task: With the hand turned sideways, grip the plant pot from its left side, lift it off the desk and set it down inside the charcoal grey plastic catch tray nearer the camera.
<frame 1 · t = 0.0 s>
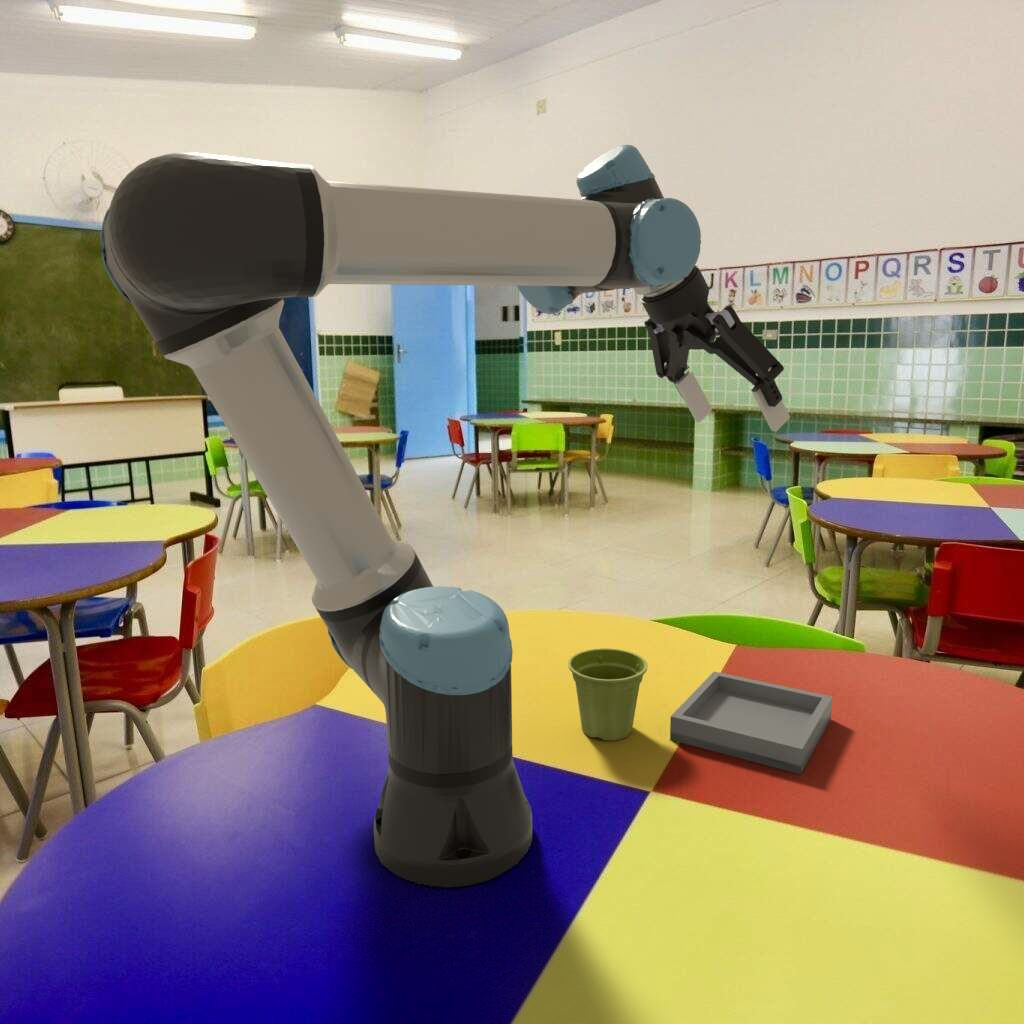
hand: (740, 419, 104), 36 cm above the table, tool tilted 35°, fingers open, 13 cm apart
catch tray: (752, 729, 98), on the table
plant pot: (607, 731, 98), on the table
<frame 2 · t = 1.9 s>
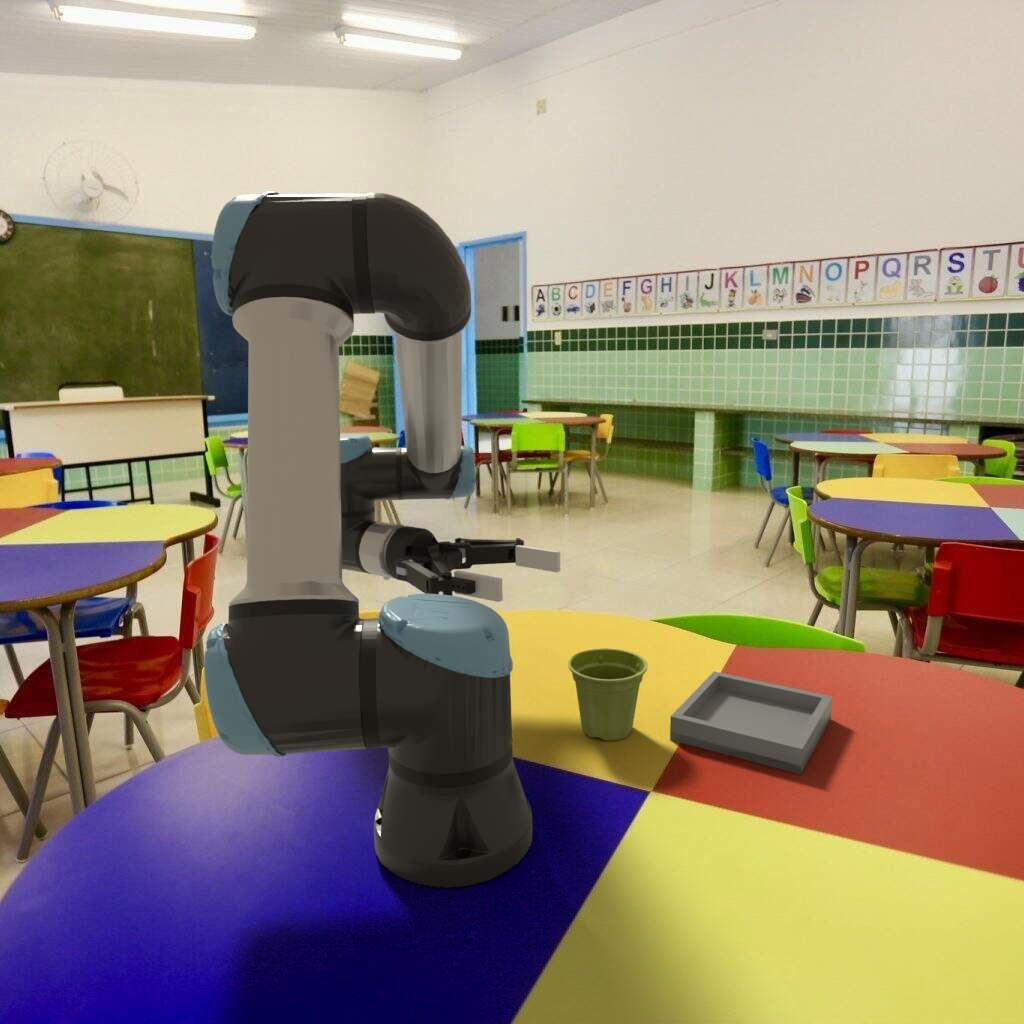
hand: (531, 575, 100), 18 cm above the table, tool horizontal, fingers open, 13 cm apart
nothing on the table moved.
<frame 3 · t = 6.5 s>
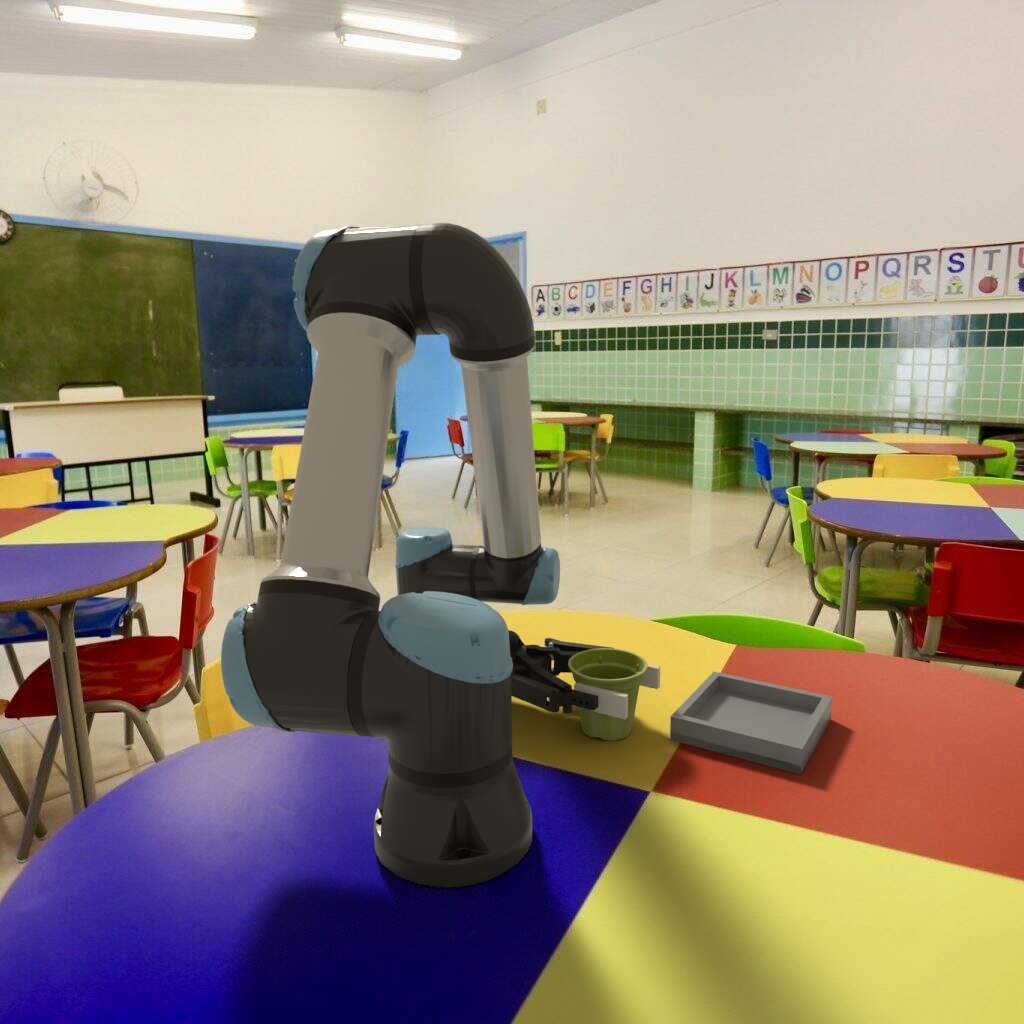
hand: (643, 691, 94), 6 cm above the table, tool horizontal, fingers closed on plant pot, 8 cm apart
plant pot: (607, 731, 98), on the table, touching gripper
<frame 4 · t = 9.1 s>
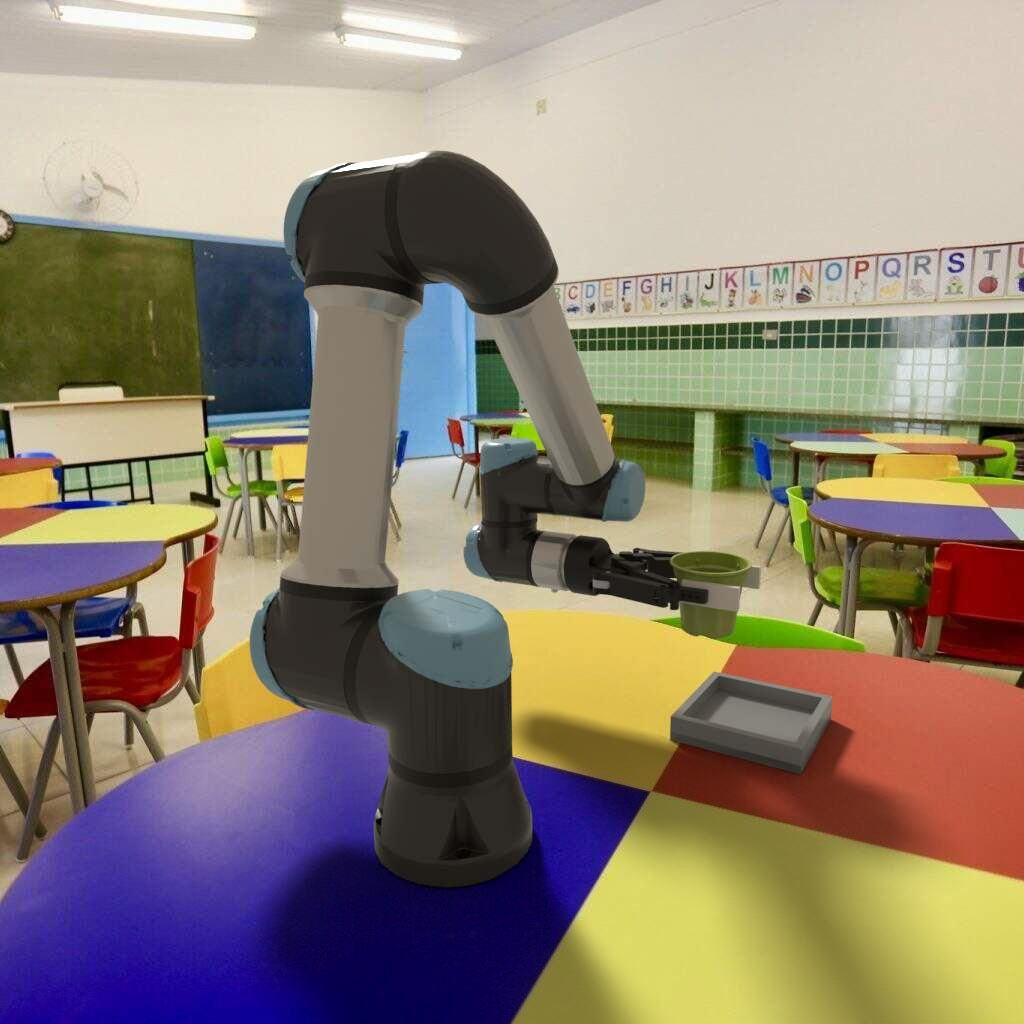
hand: (749, 588, 93), 18 cm above the table, tool horizontal, fingers closed on plant pot, 8 cm apart
plant pot: (707, 632, 97), point 12 cm above the table, touching gripper
when the fingers open (8 cm above the table, at t = 11.8 s): plant pot drops 1 cm, resting on catch tray.
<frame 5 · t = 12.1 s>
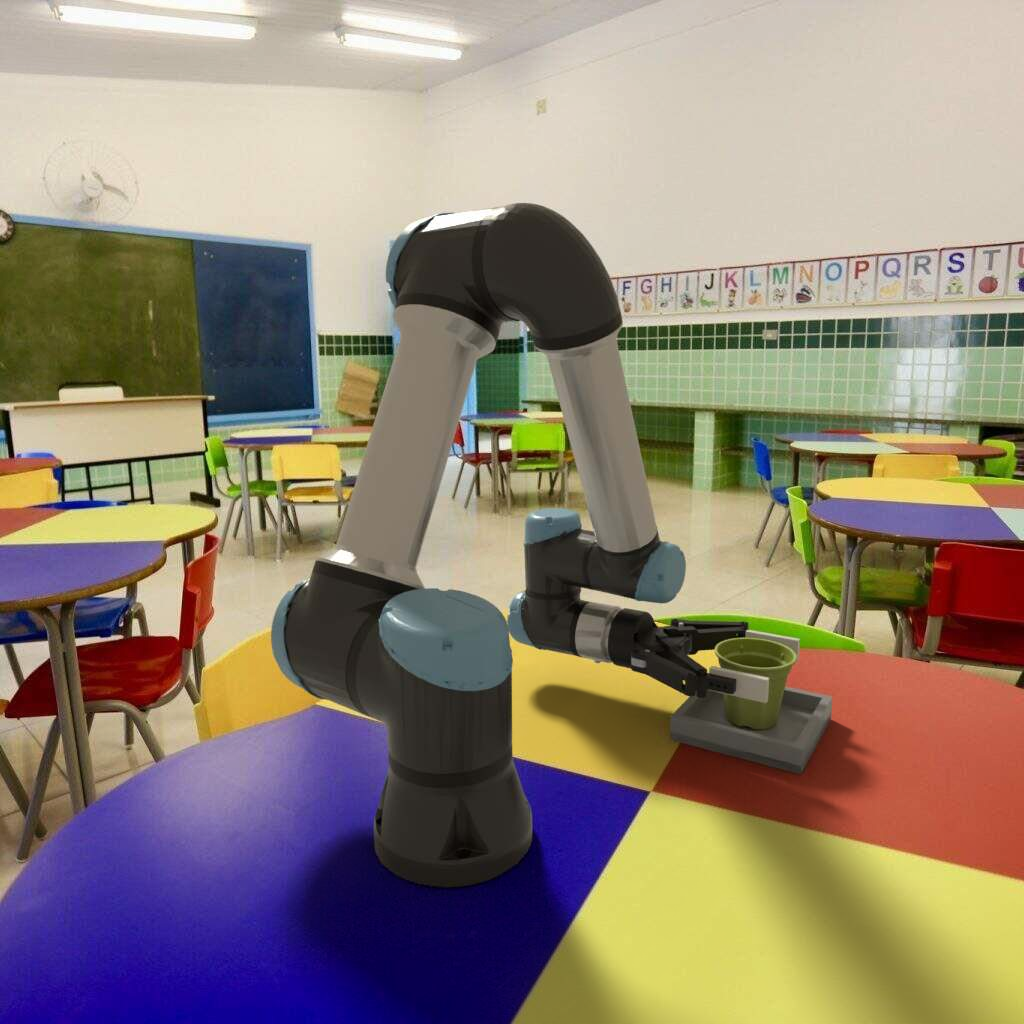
hand: (784, 669, 94), 8 cm above the table, tool horizontal, fingers open, 13 cm apart
plant pot: (751, 720, 98), point 1 cm above the table, touching catch tray
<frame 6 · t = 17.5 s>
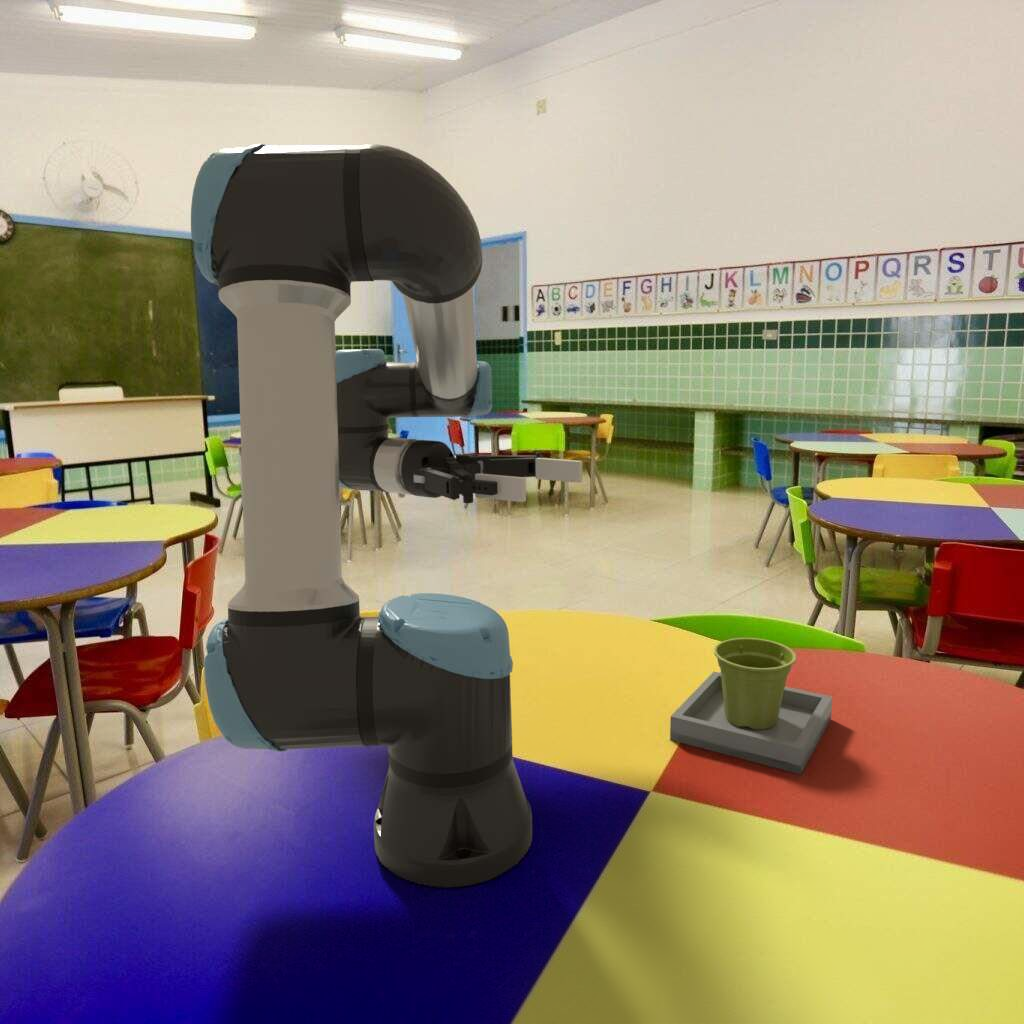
hand: (554, 480, 97), 30 cm above the table, tool horizontal, fingers open, 13 cm apart
nothing on the table moved.
at the end: plant pot inside the target area on the catch tray (0.6 cm from its centre), point 0.8 cm above the catch tray's base; plant pot tilted 0°; the gripper is holding nothing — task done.
